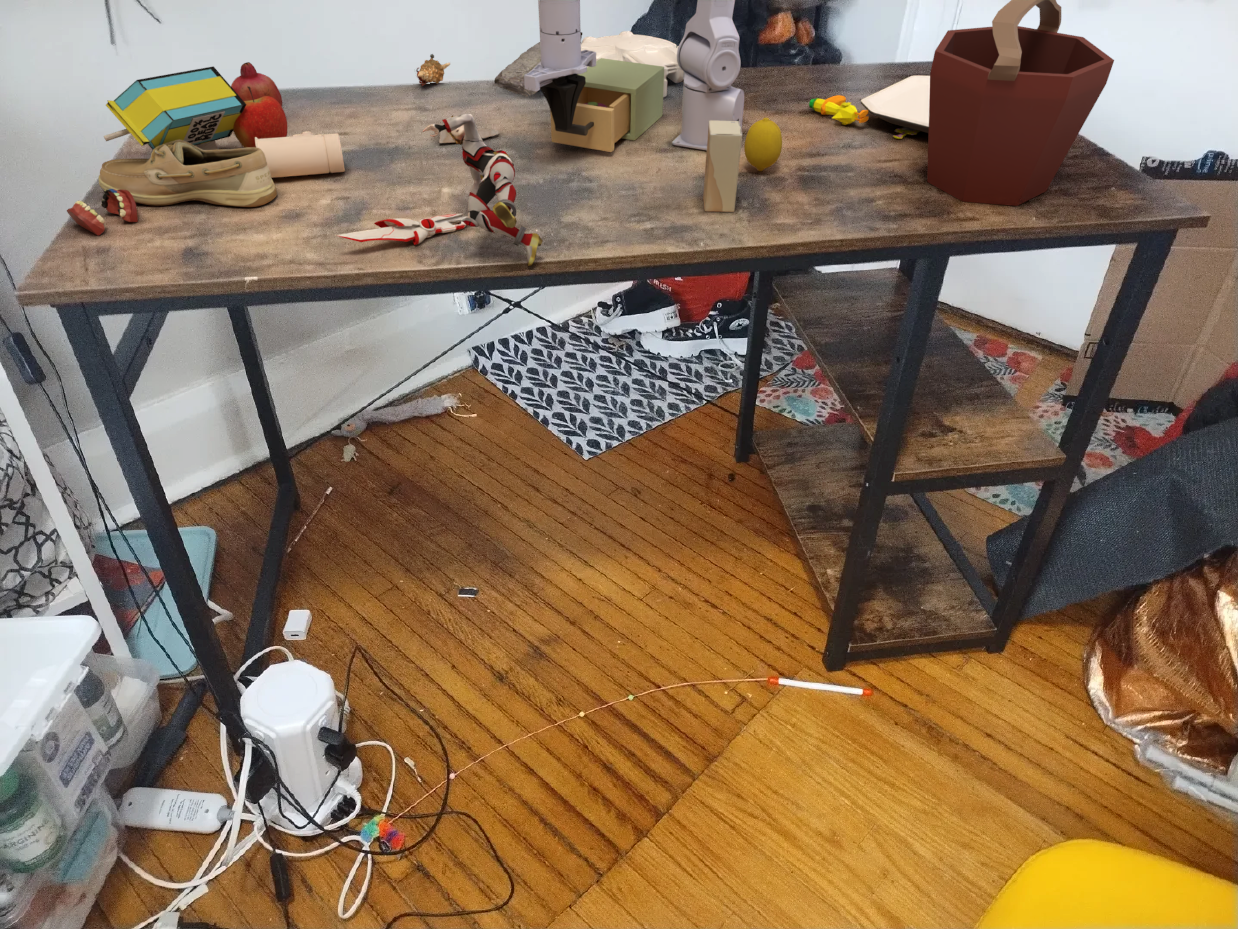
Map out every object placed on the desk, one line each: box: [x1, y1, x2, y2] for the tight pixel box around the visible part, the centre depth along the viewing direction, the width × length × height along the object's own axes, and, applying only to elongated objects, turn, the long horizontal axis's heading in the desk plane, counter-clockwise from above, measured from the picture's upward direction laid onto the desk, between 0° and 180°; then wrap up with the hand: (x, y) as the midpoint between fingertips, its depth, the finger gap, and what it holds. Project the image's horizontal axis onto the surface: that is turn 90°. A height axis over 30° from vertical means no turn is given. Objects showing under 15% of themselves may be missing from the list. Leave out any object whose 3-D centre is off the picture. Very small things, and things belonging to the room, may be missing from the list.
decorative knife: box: [892, 126, 922, 140], centre depth 148 cm, size 12×1×5 cm
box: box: [702, 120, 743, 213], centre depth 122 cm, size 5×4×11 cm
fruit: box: [230, 61, 283, 108], centre depth 144 cm, size 8×8×10 cm
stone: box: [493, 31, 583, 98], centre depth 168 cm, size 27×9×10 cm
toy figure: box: [808, 94, 870, 126], centre depth 151 cm, size 7×4×12 cm
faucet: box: [255, 130, 346, 179], centre depth 133 cm, size 6×12×12 cm
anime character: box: [335, 113, 543, 267], centre depth 112 cm, size 23×16×25 cm
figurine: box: [414, 53, 451, 88], centre depth 164 cm, size 14×5×4 cm, turn 148°
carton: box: [103, 66, 246, 151], centre depth 126 cm, size 7×8×18 cm
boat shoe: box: [97, 140, 278, 208], centre depth 124 cm, size 25×9×8 cm, turn 83°
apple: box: [232, 86, 288, 148], centre depth 135 cm, size 8×8×10 cm
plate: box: [860, 74, 930, 134], centre depth 151 cm, size 29×29×2 cm
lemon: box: [743, 117, 783, 172], centre depth 132 cm, size 6×6×8 cm
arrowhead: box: [438, 127, 500, 144], centre depth 144 cm, size 5×1×10 cm
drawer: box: [549, 87, 631, 153], centre depth 140 cm, size 15×10×6 cm
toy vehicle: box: [581, 30, 684, 98], centre depth 166 cm, size 23×25×6 cm
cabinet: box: [577, 58, 664, 141], centre depth 148 cm, size 13×12×8 cm
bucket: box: [926, 0, 1115, 207], centre depth 124 cm, size 24×22×25 cm
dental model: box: [66, 189, 139, 237], centre depth 119 cm, size 6×4×8 cm
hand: (563, 127), depth 132 cm, fingers closed
